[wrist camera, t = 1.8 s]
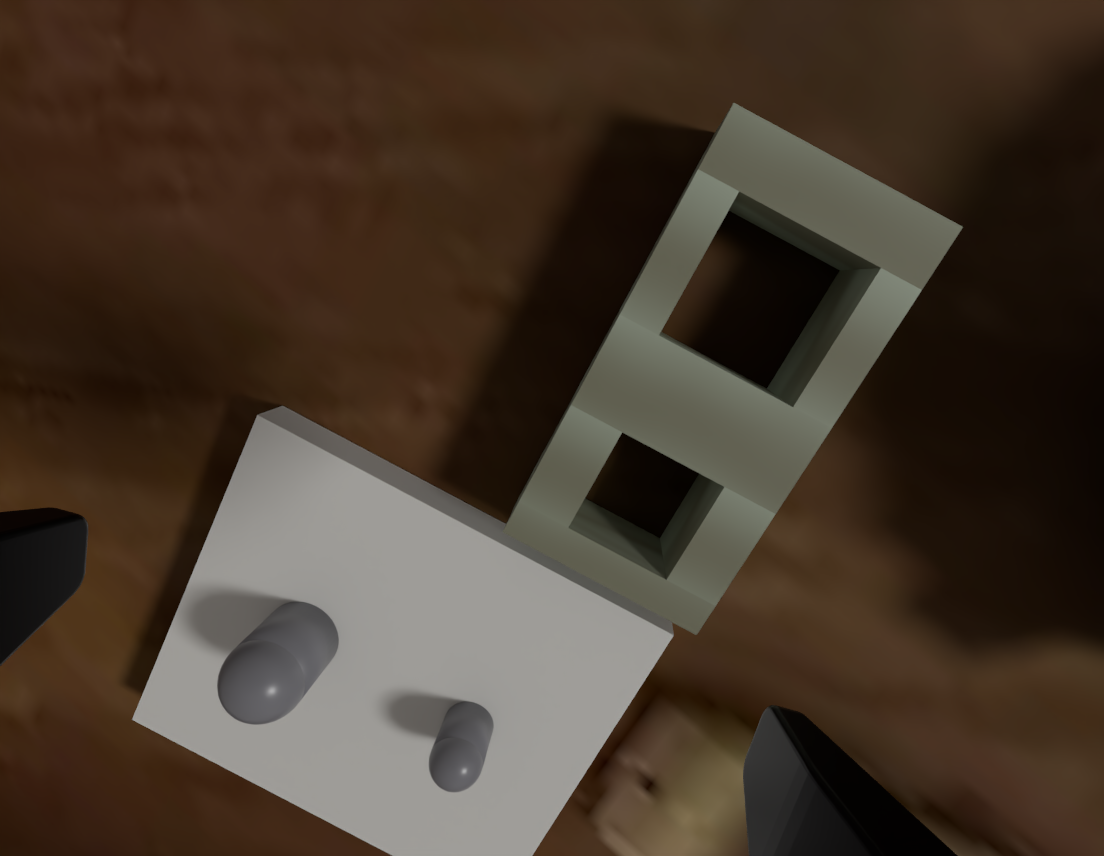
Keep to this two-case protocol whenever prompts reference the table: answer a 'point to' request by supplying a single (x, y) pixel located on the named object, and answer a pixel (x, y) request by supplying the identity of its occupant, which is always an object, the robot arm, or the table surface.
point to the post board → (391, 653)
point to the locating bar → (728, 371)
